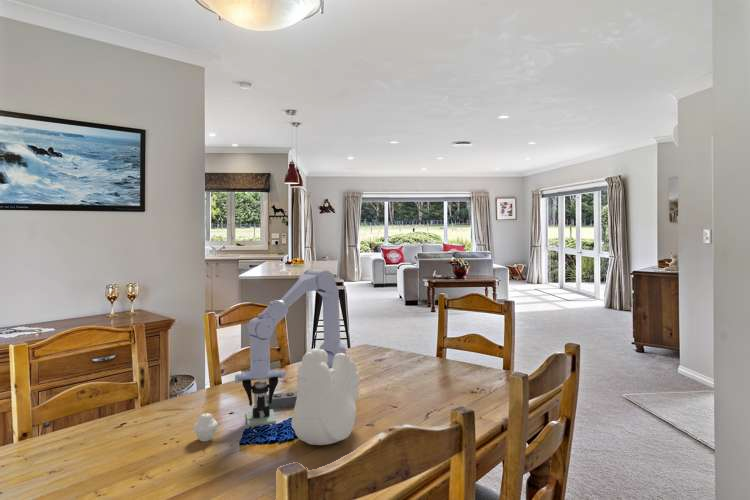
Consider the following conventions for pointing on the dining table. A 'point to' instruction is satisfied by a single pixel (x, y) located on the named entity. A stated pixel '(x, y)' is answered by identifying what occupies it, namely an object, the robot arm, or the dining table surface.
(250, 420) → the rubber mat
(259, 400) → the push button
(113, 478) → the dining table surface
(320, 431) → the white rounded upright lump
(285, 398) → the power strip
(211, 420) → the grey rounded lump
